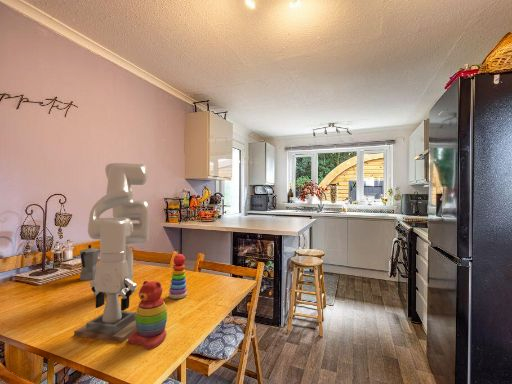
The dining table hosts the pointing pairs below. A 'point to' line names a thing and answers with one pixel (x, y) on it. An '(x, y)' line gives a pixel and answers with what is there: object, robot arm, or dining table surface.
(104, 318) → the salt shaker
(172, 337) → the dining table surface
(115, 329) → the stand
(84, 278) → the coffeepot
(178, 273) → the stacking toy
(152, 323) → the stacking bear
